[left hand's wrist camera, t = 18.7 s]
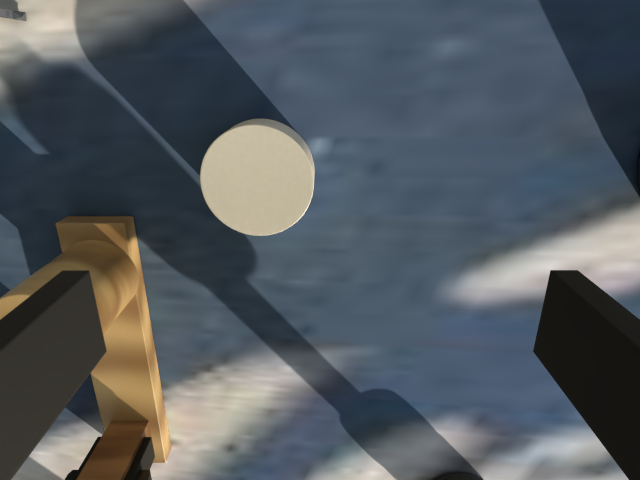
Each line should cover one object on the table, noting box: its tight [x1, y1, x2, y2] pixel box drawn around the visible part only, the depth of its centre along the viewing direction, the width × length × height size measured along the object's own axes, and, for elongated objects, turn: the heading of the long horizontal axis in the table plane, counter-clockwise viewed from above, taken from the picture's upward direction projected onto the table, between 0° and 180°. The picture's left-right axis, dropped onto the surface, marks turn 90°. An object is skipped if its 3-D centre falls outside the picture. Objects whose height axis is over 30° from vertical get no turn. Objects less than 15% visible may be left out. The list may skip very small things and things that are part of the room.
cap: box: [200, 119, 314, 236], centre depth 36 cm, size 9×9×4 cm
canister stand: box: [0, 216, 171, 480], centre depth 39 cm, size 28×7×12 cm, turn 0°
